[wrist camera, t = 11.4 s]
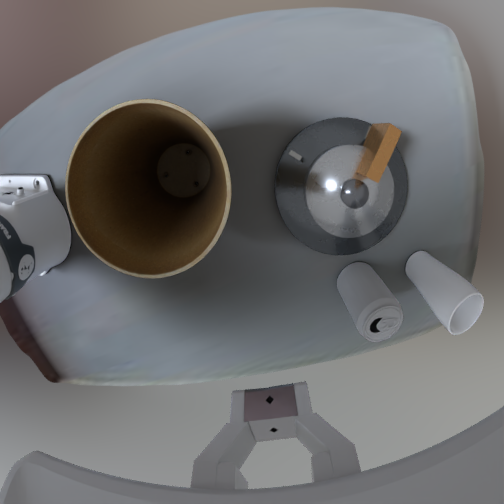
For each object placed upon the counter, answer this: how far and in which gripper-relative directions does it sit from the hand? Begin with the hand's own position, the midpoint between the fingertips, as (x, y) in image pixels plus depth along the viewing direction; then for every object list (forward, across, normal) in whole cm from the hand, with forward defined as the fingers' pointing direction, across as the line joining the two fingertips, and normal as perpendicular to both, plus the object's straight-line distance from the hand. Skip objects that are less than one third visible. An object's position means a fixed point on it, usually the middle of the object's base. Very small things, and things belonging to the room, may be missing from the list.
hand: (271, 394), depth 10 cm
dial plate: (+29, -12, -1) cm, 31 cm away
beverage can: (+29, -13, +13) cm, 35 cm away
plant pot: (+29, +8, -7) cm, 31 cm away
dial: (+27, -13, -2) cm, 31 cm away
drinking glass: (+29, -25, +13) cm, 40 cm away
